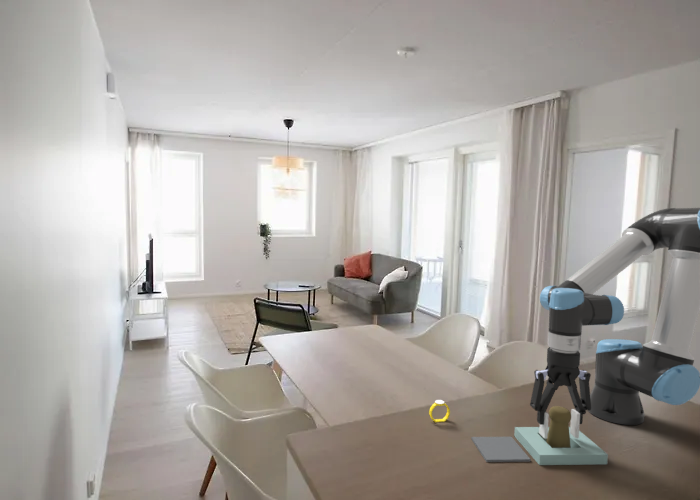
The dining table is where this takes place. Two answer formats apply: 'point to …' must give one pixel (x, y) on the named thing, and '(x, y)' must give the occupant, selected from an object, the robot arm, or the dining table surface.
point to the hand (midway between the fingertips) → (558, 435)
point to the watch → (439, 403)
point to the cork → (559, 427)
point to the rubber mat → (500, 449)
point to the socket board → (560, 449)
